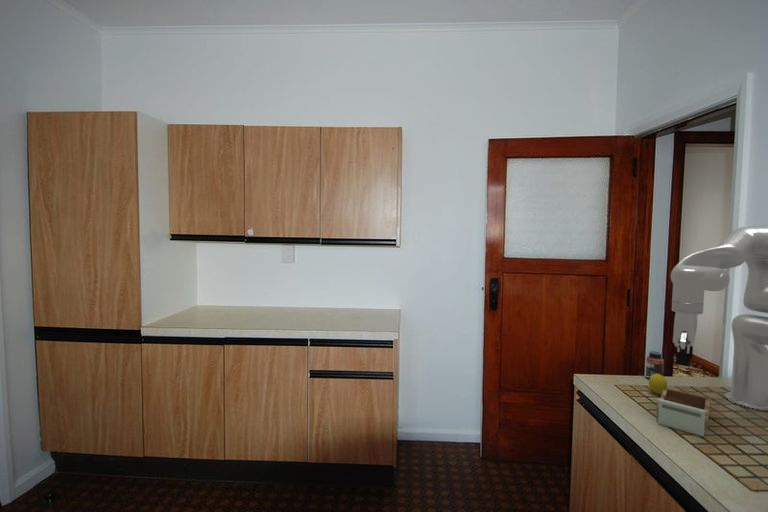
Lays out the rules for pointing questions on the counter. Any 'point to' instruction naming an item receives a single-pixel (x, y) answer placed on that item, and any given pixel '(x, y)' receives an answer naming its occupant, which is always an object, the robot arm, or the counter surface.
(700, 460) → the counter surface
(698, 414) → the panel
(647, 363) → the supplement bottle
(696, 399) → the crate
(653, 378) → the lemon
